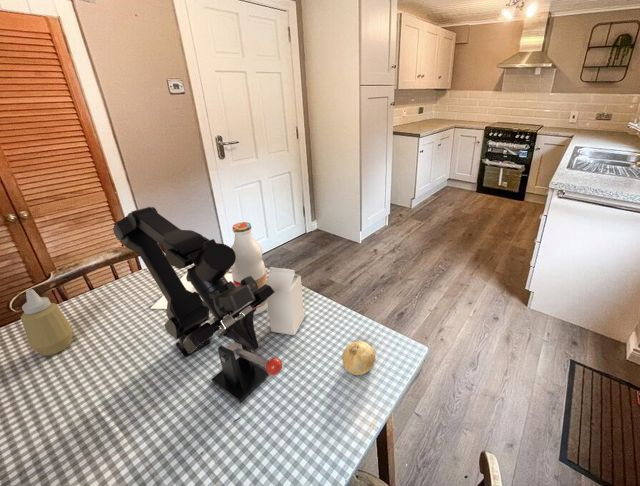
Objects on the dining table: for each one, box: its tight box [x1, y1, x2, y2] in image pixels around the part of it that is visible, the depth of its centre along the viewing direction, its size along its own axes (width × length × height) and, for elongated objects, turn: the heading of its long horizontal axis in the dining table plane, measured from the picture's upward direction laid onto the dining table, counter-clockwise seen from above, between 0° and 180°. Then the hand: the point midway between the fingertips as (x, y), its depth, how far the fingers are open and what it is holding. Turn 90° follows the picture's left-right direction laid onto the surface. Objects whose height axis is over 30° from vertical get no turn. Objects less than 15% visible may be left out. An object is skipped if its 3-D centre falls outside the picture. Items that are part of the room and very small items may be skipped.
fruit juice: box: [230, 221, 268, 316], centre depth 90 cm, size 9×9×28 cm
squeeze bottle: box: [20, 288, 74, 357], centre depth 76 cm, size 8×8×18 cm
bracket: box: [211, 340, 270, 404], centre depth 69 cm, size 10×8×11 cm
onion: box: [341, 340, 376, 376], centre depth 73 cm, size 8×8×7 cm
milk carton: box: [266, 267, 305, 336], centre depth 84 cm, size 7×7×19 cm
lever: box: [225, 341, 283, 376], centre depth 64 cm, size 16×3×3 cm, turn 59°
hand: (256, 349), depth 62 cm, fingers closed
